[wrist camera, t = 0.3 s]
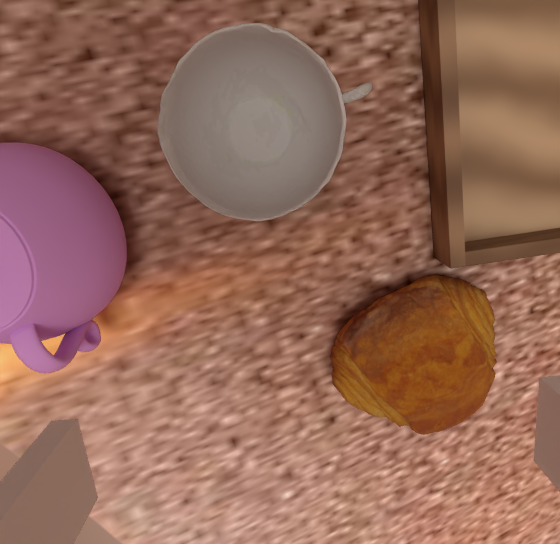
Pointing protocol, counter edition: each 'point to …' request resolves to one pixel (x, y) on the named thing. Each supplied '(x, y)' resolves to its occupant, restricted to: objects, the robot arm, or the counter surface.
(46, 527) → the robot arm
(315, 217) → the counter surface
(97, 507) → the counter surface
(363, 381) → the croissant
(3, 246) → the teapot
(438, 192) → the tray
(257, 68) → the teacup
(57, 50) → the counter surface
